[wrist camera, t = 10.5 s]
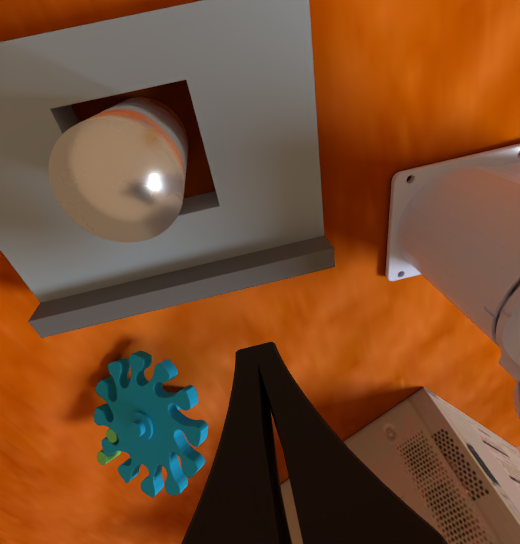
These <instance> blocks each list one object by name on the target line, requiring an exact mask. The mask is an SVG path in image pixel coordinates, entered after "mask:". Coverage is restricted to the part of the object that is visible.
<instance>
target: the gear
mask: <svg viewBox="0 0 520 544" xmlns="http://www.w3.org/2000/svg"><path fill="white" fill-rule="evenodd" d="M129 361H130V363H129ZM151 363H152V356H151V355H150V354H148V353H146V352H143V351H138V352H136V353H133V354H131V355H130V359H129V360H128V359H127V358H123V359H120V360H117V361H114V362H112V363H110V364H108V370H109V372H110V374H111V375H112V377H111V376H110V377H108V378H105V379H103V380H101V381H100V382H99V383H98V384H97V386H96V388H95V390H96V393H97V394H98V395H99V396H100V397H102V398H103V399H104V400H105V401H106V402H107V403H108V404H104V405H102V406H100V407H98V408H96V409H95V413H94V422H95V423H96V424H97V425H105V426H107V427H109V428H110V429H108V430H107V433H106V436H107V437H106V438H104V439H103V440H102V447H103V450H101V451H100V452H98V454H97V459H98V462H99V463H100V464H101V465H105V464H107V463H108V462H110V461H111V460H112V459H114V458H115V457H117V456H118V455H119V454H120V453H121V451H124V452H127V453H128V454H129V455H130V457H131V458H129V459H128V460H127V461H125V462H124V463H123V464H121V465H120V466H119V467H118V472H119V474H120V475H121V477H122V478H123V480H124V481H125V482H126V483H128V482H129V481H130V480H132V479H133V478H134V477H135V476H137V475H138V474H139V470H140V466H141V464H143V465H145V466H146V467H147V468H148V471H149V476H148V477H147V478H145V479H144V480H143V481H142V483H141V490H142V491H143V492H144V493H146V494H147V495H149V496H150V497H152V498H153V497H154V496H155V495H156V494H157V493H158V492H159V491H161V490H162V488H163V480H162V466H164V467H165V469H166V470H167V479H166V481H165V490H166V492H167V493H168V494H170V495H177V494H180V493H181V492H182V491H183V490H184V489H185V488H186V487H187V486H188V480H187V478H186V477H188V478H191V477H193V476H194V475H195V474H196V473H197V472H198V471H199V470H200V469H201V467H202V466H203V465H204V464H205V459H204V457H203V456H202V455H201V454H200V453H199V452H197V451H195V450H194V449H193V448H192V447H191V446H190V445H189V443H188V442H187V440H186V438H185V436H184V434H185V435H186V437H187V439H188V441H189V442H190V444H192V445H193V446H196V447H198V446H199V445H200V444H201V443H202V442H203V441H204V440H205V439H206V437H207V434H208V424H207V423H206V422H205V421H203V420H192V419H190V418H188V417H186V416H185V415H183V414H182V413H181V412H180V411H179V409H182V410H189V409H190V408H192V407H193V406H195V405H196V404H197V403H198V396H197V393H196V390H195V387H194V386H192V385H189V386H187V387H185V388H183V389H182V390H180V391H178V393H169V392H166V391H165V390H164V389H163V386H162V383H165V382H167V381H169V380H171V379H173V378H174V377H176V376H177V374H178V371H177V369H176V367H175V366H174V364H173V363H172V362H171V361H170V360H169V359H168V360H165V361H163V362H161V363H158V364H157V365H156V366H155V370H154V374H153V377H152V379H151V380H150V382H149V381H147V380H146V379H145V376H144V371H145V369H146V368H148V367H149V366H150V365H151ZM130 366H131V379H130V382H129V380H128V372H129V369H130ZM182 431H183V432H184V434H183V432H182ZM178 455H179V456H180V458H181V462H182V469H181V467H180V465H179V461H178ZM182 470H183V471H182ZM183 472H184V473H183Z"/></svg>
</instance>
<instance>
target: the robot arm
mask: <svg viewBox="0 0 520 544" xmlns="http://www.w3.org/2000/svg"><path fill="white" fill-rule="evenodd" d="M519 151H520V144H515V145H511V146H507V147H503V148H498V149H494V150H490V151H485V152H481V153H477V154H472V155H468V156H464V157H460V158H455V159H451V160H447V161H442V162H438V163H434V164H429V165H425V166H421V167H417V168H412V169H408V170H404V171H400V172H397V173H396V174H395V175H394V176H393V178H392V183H391V198H390V213H389V228H388V243H387V258H386V273H385V275H386V278H387V279H388V280H389V281H395V280H399V279H403V278H408V277H412V276H416V275H420V274H422V275H423V276H424V277H425V278H426V279H427V280H428V281H429V282H430V283H432V284H433V285H434V286H435V287H436V288H437V289H438V290H439V291H440V292H441V293H442V294H443V295H444V296H445V297H446V298H448V299H449V300H450V301H451V302H452V303H453V304H454V305H455V306H456V307H457V308H458V309H459V310H460V311H461V312H463V313H464V314H465V315H466V316H467V317H468V318H469V319H470V320H471V321H472V322H473V323H474V324H475V325H476V326H477V327H479V328H480V329H481V330H482V331H483V332H484V333H485V334H486V335H487V336H488V337H489V338H490V339H491V340H492V341H494V342H495V343H496V344H497V345H498V346H499V347H500V349H501V351H502V354H501V358H500V360H499V364H500V365H501V366H502V367H503V368H504V369H505V370H506V371H507V372H508V373H509V374H510V375H511V376H512V377H513V378H514V379H515V380H516V381H517V382H516V384H515V387H514V392H513V400H514V405H515V409H516V411H517V414H518V416H519V418H520V153H519ZM518 153H519V154H518ZM410 175H411V179H410V180H409V181H406V180H407V178H408V177H409V176H410ZM399 272H401V273H399ZM398 273H399V274H398ZM270 409H271V410H270ZM271 413H272V416H273V419H274V422H275V426H276V429H277V432H278V435H279V438H280V442H281V445H282V448H283V451H284V456H285V461H286V465H287V470H288V475H289V479H290V484H291V489H292V493H293V498H294V503H295V508H296V512H297V517H298V522H299V527H300V531H301V536H302V541H303V544H448V543H447V541H446V540H445V539H444V537H443V536H442V535H441V534H440V533H439V532H438V531H437V530H436V529H435V528H434V527H432V526H431V525H430V524H429V523H428V522H427V521H425V520H424V519H423V518H422V517H421V516H420V515H418V514H417V513H416V512H415V511H414V510H413V509H412V508H410V507H409V506H408V505H407V504H406V503H405V502H404V501H403V500H401V499H400V498H399V497H398V496H397V495H396V494H395V493H394V492H393V491H392V490H391V489H390V488H388V487H387V486H386V485H385V484H384V483H383V482H382V481H381V480H380V479H379V478H378V477H377V476H376V475H375V474H374V473H373V472H372V471H371V470H370V469H369V468H368V467H367V466H366V465H365V464H364V463H363V462H362V461H361V460H360V459H359V458H358V457H357V456H356V455H355V454H354V453H353V452H352V451H351V450H350V449H349V448H348V447H347V445H346V444H345V443H344V442H343V441H342V440H341V439H340V438H339V437H338V436H337V434H336V433H335V432H334V431H333V430H332V429H331V428H330V426H329V425H328V424H327V423H326V422H325V420H324V419H323V418H322V417H321V415H320V414H319V413H318V412H317V410H316V409H315V408H314V407H313V405H312V404H311V403H310V401H309V400H308V399H307V397H306V396H305V395H304V393H303V392H302V390H301V389H300V387H299V386H298V384H297V383H296V382H295V380H294V379H293V377H292V375H291V374H290V372H289V371H288V369H287V367H286V365H285V364H284V362H283V360H282V358H281V356H280V354H279V352H278V350H277V348H276V345H275V343H273V342H268V343H264V344H260V345H256V346H252V347H248V348H244V349H240V350H238V351H237V352H236V361H235V372H234V380H233V386H232V392H231V397H230V402H229V407H228V412H227V416H226V420H225V423H224V427H223V431H222V435H221V439H220V442H219V446H218V449H217V452H216V456H215V459H214V462H213V465H212V468H211V471H210V474H209V476H208V479H207V482H206V485H205V487H204V490H203V493H202V496H201V498H200V501H199V503H198V506H197V508H196V511H195V513H194V516H193V518H192V520H191V523H190V525H189V527H188V530H187V532H186V534H185V537H184V539H183V541H182V543H181V544H292V540H291V536H290V531H289V526H288V521H287V516H286V511H285V507H284V502H283V497H282V492H281V486H280V480H279V473H278V465H277V457H276V449H275V441H274V433H273V425H272V417H271Z"/></svg>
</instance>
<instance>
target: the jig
mask: <svg viewBox="0 0 520 544" xmlns="http://www.w3.org/2000/svg"><path fill="white" fill-rule="evenodd" d="M182 80H187V84H188V88H189V92H190V95H191V99H192V103H193V107H194V110H195V114H196V118H197V122H198V126H199V129H200V133H201V137H202V141H203V144H204V148H205V152H206V156H207V159H208V163H209V167H210V171H211V175H212V178H213V182H214V186H215V190H216V191H213V192H209V193H204V194H200V195H196V196H191V197H187V198H183V203H182V206H181V210H180V212H179V214H178V216H177V218H176V219H175V221H174V222H173V223H172V225H171V226H170V227H169V228H168V229H167V230H165V231H164V232H163V233H161V234H160V235H158V236H156V237H154V238H152V239H148V240H145V241H141V242H132V243H124V242H115V241H111V240H107V239H104V238H101V237H98V236H96V235H94V234H92V233H90V232H88V231H86V230H85V229H83V228H82V227H80V226H79V225H78V224H76V223H75V222H74V221H73V220H72V219H71V218H70V217H69V216H68V215H67V214H66V213H65V212H64V210H63V209H62V208H61V206H60V205H59V203H58V202H57V200H56V198H55V196H54V194H53V191H52V188H51V185H50V181H49V173H48V166H49V158H50V154H51V151H52V149H53V147H54V145H55V143H56V142H57V140H58V139H59V137H60V136H61V135H62V134H63V133H64V132H65V131H67V130H68V129H69V128H71V127H72V126H74V125H76V124H78V123H79V121H78V118H77V116H76V114H75V112H74V110H73V108H72V105H71V104H75V103H80V102H85V101H89V100H94V99H99V98H103V97H108V96H112V95H117V94H122V93H126V92H131V91H136V90H140V89H145V88H150V87H154V86H159V85H163V84H168V83H173V82H177V81H182ZM0 250H1V252H2V253H3V254H4V255H5V257H6V258H7V259H8V261H9V262H10V263H11V265H12V266H13V267H14V269H15V270H16V271H17V273H18V274H19V275H20V277H21V278H22V279H23V281H24V282H25V283H26V285H27V286H28V287H29V288H30V290H31V291H32V292H33V294H34V295H35V296H36V298H37V299H38V300H39V302H40V304H39V306H38V307H37V309H36V310H35V312H34V313H33V315H32V316H31V318H30V319H29V321H28V322H29V323H30V324H31V326H32V327H33V328H34V329H35V331H36V332H37V333H38V334H39V335H40V337H41V338H43V337H48V336H52V335H56V334H60V333H64V332H68V331H72V330H76V329H81V328H85V327H89V326H93V325H97V324H101V323H105V322H109V321H114V320H118V319H122V318H126V317H130V316H134V315H138V314H142V313H147V312H151V311H155V310H159V309H163V308H167V307H171V306H175V305H180V304H184V303H188V302H192V301H196V300H200V299H204V298H208V297H213V296H217V295H221V294H225V293H229V292H233V291H237V290H242V289H246V288H250V287H254V286H258V285H262V284H266V283H270V282H275V281H279V280H283V279H287V278H291V277H295V276H299V275H303V274H308V273H312V272H316V271H320V270H324V269H328V268H332V267H335V260H334V248H333V246H332V245H331V244H330V242H329V241H328V239H327V238H326V237H325V235H324V221H323V206H322V190H321V175H320V160H319V144H318V129H317V114H316V98H315V83H314V67H313V52H312V37H311V21H310V6H309V0H202V1H197V2H192V3H187V4H183V5H178V6H173V7H168V8H163V9H158V10H154V11H149V12H144V13H139V14H134V15H129V16H125V17H120V18H115V19H110V20H105V21H100V22H96V23H91V24H86V25H81V26H76V27H71V28H67V29H62V30H57V31H52V32H47V33H42V34H37V35H33V36H28V37H23V38H18V39H13V40H8V41H4V42H0Z"/></svg>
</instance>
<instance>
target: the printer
mask: <svg viewBox="0 0 520 544" xmlns="http://www.w3.org/2000/svg"><path fill="white" fill-rule="evenodd" d="M343 442H344V443H345V444H346V445H347V447H348V448H349V449H350V450H351V451H352V452H353V453H354V454H355V455H356V456H357V457H358V458H359V459H360V460H361V461H362V462H363V463H364V464H365V465H366V466H367V467H368V468H369V469H370V470H371V471H372V472H373V473H374V474H375V475H376V476H377V477H378V478H379V479H380V480H381V481H382V482H383V483H384V484H385V485H386V486H387V487H388V488H390V489H391V490H392V491H393V492H394V493H395V494H396V495H397V496H398V497H399V498H400V499H401V500H403V501H404V502H405V503H406V504H407V505H408V506H409V507H410V508H412V509H413V510H414V511H415V512H416V513H417V514H418V515H420V516H421V517H422V518H423V519H424V520H425V521H427V522H428V523H429V524H430V525H431V526H432V527H434V528H435V529H436V530H437V531H438V532H439V533H440V534H441V535H442V536H443V537H444V539H445V540H446V541H447V543H448V544H520V452H519V451H518V450H517V449H516V448H515V447H514V446H513V445H511V444H509V443H508V442H506V441H505V440H503V439H502V438H500V437H499V436H497V435H496V434H494V433H493V432H491V431H490V430H488V429H487V428H485V427H484V426H482V425H481V424H479V423H478V422H476V421H475V420H473V419H472V418H470V417H469V416H467V415H466V414H464V413H462V412H461V411H459V410H458V409H456V408H455V407H453V406H452V405H450V404H449V403H447V402H446V401H444V400H443V399H441V398H440V397H438V396H437V395H435V394H434V393H432V392H431V391H429V390H428V389H426V388H425V387H423V388H421V389H420V390H418V391H417V392H415V393H414V394H412V395H411V396H409V397H408V398H406V399H405V400H403V401H402V402H401V403H399V404H398V405H396V406H395V407H393V408H392V409H390V410H389V411H387V412H386V413H384V414H383V415H381V416H380V417H379V418H377V419H376V420H374V421H373V422H371V423H370V424H368V425H367V426H365V427H364V428H362V429H361V430H359V431H358V432H357V433H355V434H354V435H352V436H351V437H349V438H348V439H346V440H345V441H343ZM280 486H281V492H282V497H283V502H284V507H285V511H286V516H287V521H288V526H289V531H290V536H291V540H292V544H303V541H302V536H301V531H300V527H299V522H298V517H297V512H296V508H295V503H294V498H293V493H292V489H291V484H290V479H287V480H286V481H285V482H283V483H282V484H280Z"/></svg>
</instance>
